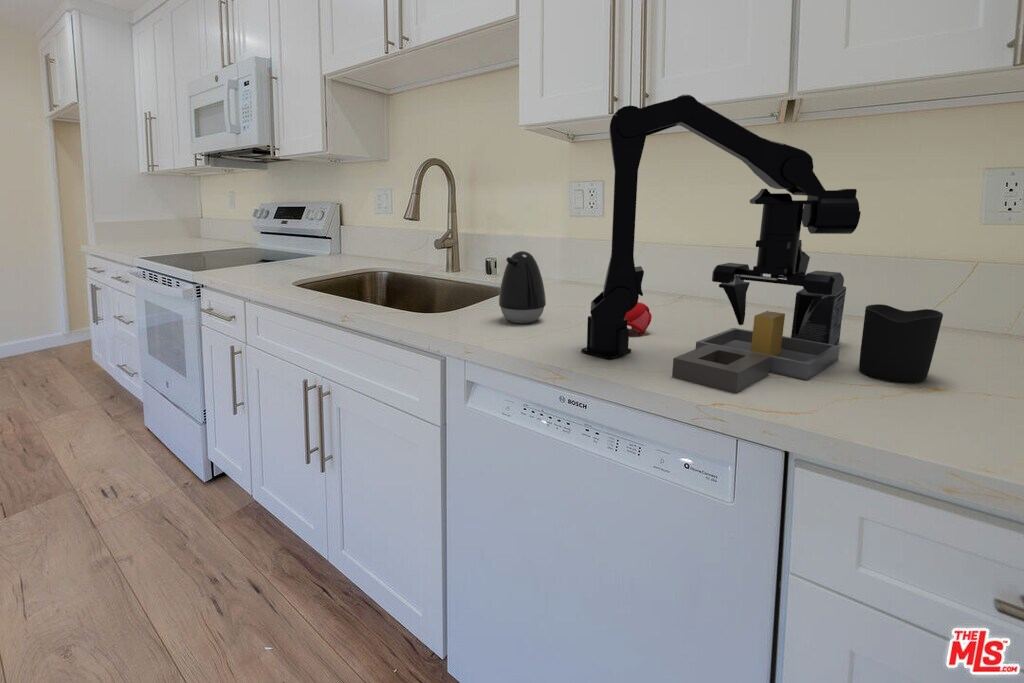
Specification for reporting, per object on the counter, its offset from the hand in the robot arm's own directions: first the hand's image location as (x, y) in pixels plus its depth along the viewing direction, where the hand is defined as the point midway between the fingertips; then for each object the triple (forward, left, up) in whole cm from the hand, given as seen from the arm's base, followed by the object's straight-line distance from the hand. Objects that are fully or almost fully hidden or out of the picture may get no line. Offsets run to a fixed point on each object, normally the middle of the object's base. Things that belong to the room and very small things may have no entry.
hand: (768, 329), depth 91 cm
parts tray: (0, 0, -5) cm, 5 cm away
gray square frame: (-1, -14, -5) cm, 15 cm away
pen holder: (+17, +5, -5) cm, 18 cm away
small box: (+3, +14, -5) cm, 15 cm away
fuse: (0, 0, -4) cm, 4 cm away
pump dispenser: (-49, -9, -5) cm, 50 cm away
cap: (-26, -1, -5) cm, 26 cm away
